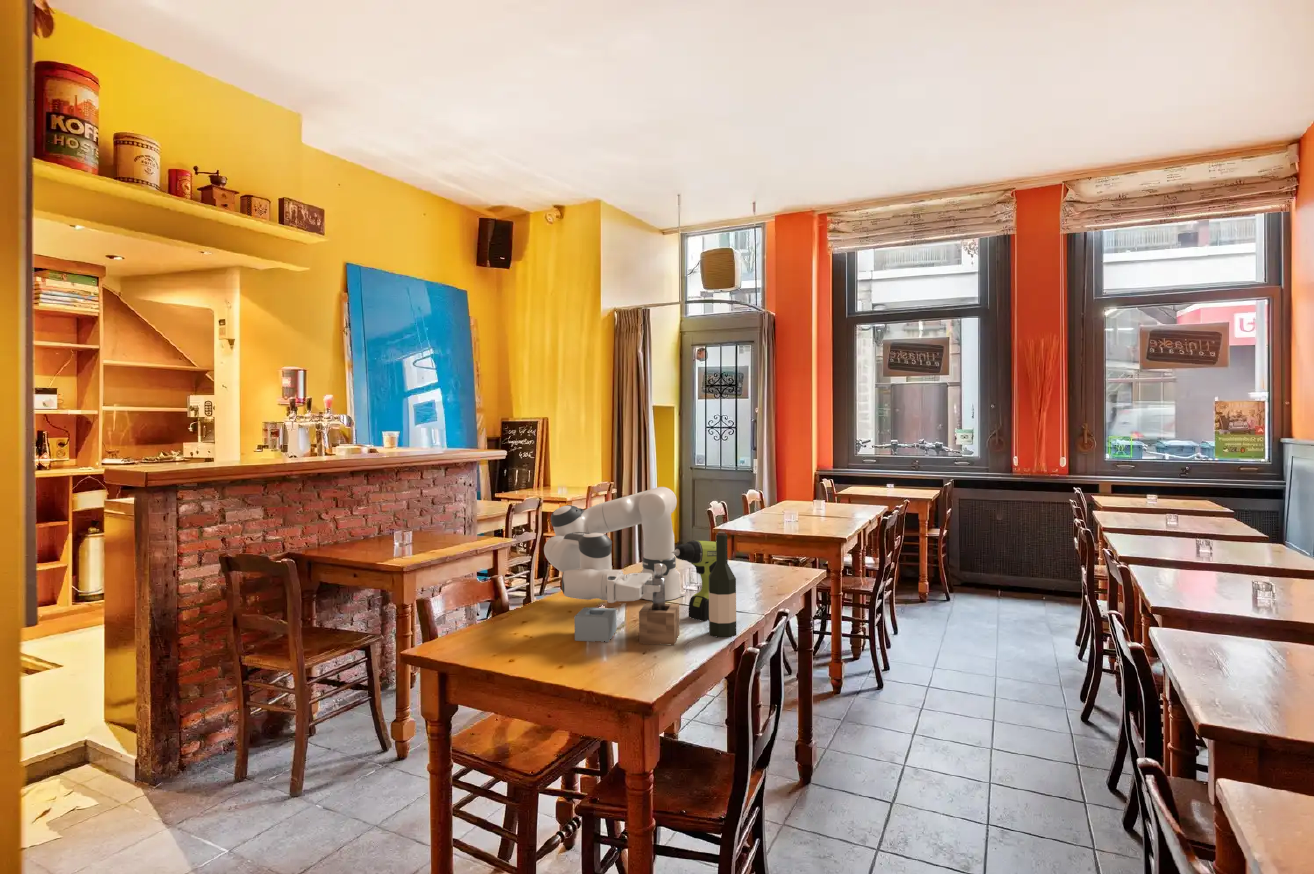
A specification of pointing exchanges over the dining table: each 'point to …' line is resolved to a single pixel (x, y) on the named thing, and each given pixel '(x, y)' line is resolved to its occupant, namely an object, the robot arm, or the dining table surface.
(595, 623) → the socket block
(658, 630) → the block
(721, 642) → the dining table surface
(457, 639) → the dining table surface
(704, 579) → the cordless drill
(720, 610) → the wine bottle
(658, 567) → the stepped metal cylinder
